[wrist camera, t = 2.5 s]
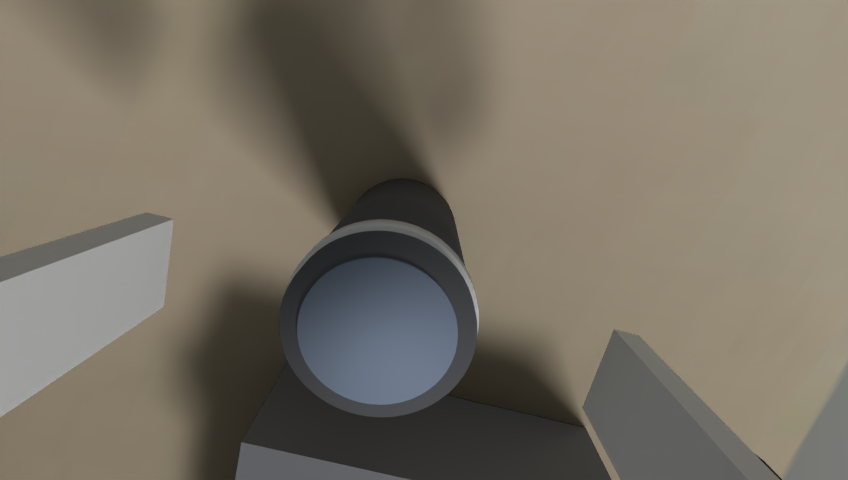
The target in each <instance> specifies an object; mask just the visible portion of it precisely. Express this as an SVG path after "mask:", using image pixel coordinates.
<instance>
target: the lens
mask: <svg viewBox="0 0 848 480" xmlns="http://www.w3.org/2000/svg"><path fill="white" fill-rule="evenodd" d="M478 327H479V310H478V304H477V299H476V295H475V291H474V287H473V284H472V281H471V278H470V275H469V273H468V271H467V269H466V267H465V264H464V260H463V255H462V251H461V247H460V242H459V238H458V234H457V229H456V225H455V220H454V217H453V214H452V211H451V209H450V207H449V205H448V204H447V202H446V201H445V199H444V198H443V197H442V196H441V195H440V194H439V193H438V192H437V191H436V190H434V189H433V188H431V187H430V186H428V185H426V184H424V183H422V182H419V181H416V180H410V179H393V180H388V181H385V182H382V183H379V184H377V185H376V186H374V187H372V188H371V189H369V190H368V191H367V192H366V193H365V194H364V195H363V196H362V197H361V198H360V199H359V200H358V202H357V203H356V204H355V205H354V206H353V207H352V209H351V210H350V211H349V212H348V213H347V214H346V216H345V217H344V218H343V219H342V220H341V222H340V223H339V224H338V225H337V226H336V227H335V229H334V230H333V231H332V232H331V233H330V234H329V235H328V236H326V237H325V238H323V239H322V240H321V241H320V242H319V243H318V244H317V245H316V246H314V247H313V249H312V250H311V251H310V252H309V253H308V254H307V255H306V256H305V258H304V259H303V260H302V261H301V263H300V264H299V265H298V266H297V268H296V270H295V271H294V273H293V275H292V276H291V279H290V281H289V283H288V286H287V289H286V292H285V294H284V297H283V300H282V304H281V308H280V315H279V334H280V339H281V345H282V348H283V351H284V354H285V356H286V358H287V361H288V363H289V365H290V367H291V368H292V370H293V371H294V373H295V374H296V376H297V377H298V378H299V379H300V380H301V382H302V383H303V384H304V385H305V386H306V387H307V388H308V389H309V390H310V391H311V392H312V393H314V394H315V395H316V396H318V397H319V398H321V399H322V400H323V401H325V402H327V403H329V404H331V405H332V406H334V407H337V408H339V409H341V410H344V411H347V412H350V413H354V414H357V415H363V416H369V417H395V416H401V415H406V414H410V413H413V412H417V411H419V410H421V409H424V408H426V407H429V406H430V405H432V404H434V403H435V402H437V401H439V400H440V399H441V398H443V397H444V396H445V395H447V394H448V393H449V392H450V391H451V390H452V389H453V388H454V387H455V386H456V385H457V384H458V383H459V381H460V380H461V379H462V377H463V376H464V374H465V373H466V371H467V369H468V368H469V366H470V363H471V361H472V358H473V356H474V352H475V348H476V344H477V335H478Z"/></svg>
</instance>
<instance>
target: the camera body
mask: <svg viewBox="0 0 848 480" xmlns="http://www.w3.org/2000/svg"><path fill="white" fill-rule="evenodd" d="M235 480H611V478H610V476H609V474H608V472H607V470H606V468H605V466H604V464H603V462H602V460H601V458H600V456H599V454H598V452H597V450H596V448H595V446H594V444H593V442H592V440H591V438H590V436H589V434H588V432H587V430H586V428H584V427H580V426H575V425H571V424H567V423H563V422H558V421H554V420H550V419H545V418H541V417H537V416H533V415H528V414H524V413H520V412H515V411H511V410H507V409H503V408H498V407H494V406H490V405H485V404H481V403H477V402H473V401H468V400H464V399H460V398H455V397H451V396H447V395H445V396H444V397H443V398H441V399H440V400H439V401H437V402H435V403H434V404H432V405H430V406H429V407H426V408H424V409H421V410H419V411H417V412H413V413H410V414H406V415H401V416H395V417H369V416H363V415H357V414H354V413H350V412H347V411H344V410H341V409H339V408H337V407H334V406H332V405H331V404H329V403H327V402H325V401H323V400H322V399H321V398H319V397H318V396H316V395H315V394H314V393H312V392H311V391H310V390H309V389H308V388H307V387H306V386H305V385H304V384H303V383H302V382H301V380H300V379H299V378H298V377H297V376H296V374H295V373H294V371H293V370H292V368H291V367H290V365H289V363H287V364H286V366H285V368H284V370H283V371H282V373H281V375H280V377H279V378H278V380H277V382H276V383H275V385H274V387H273V389H272V390H271V392H270V394H269V396H268V397H267V399H266V401H265V402H264V404H263V406H262V408H261V409H260V411H259V413H258V414H257V416H256V418H255V420H254V421H253V423H252V425H251V427H250V428H249V430H248V432H247V433H246V435H245V437H244V439H243V440H242V442H241V447H240V453H239V459H238V465H237V471H236V476H235Z"/></svg>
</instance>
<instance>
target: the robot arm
mask: <svg viewBox="0 0 848 480" xmlns="http://www.w3.org/2000/svg"><path fill="white" fill-rule="evenodd" d="M173 221H174V219H171V218H167V217H163V216H159V215H155V214H151V213H147V212H146V213H143V214H140V215H136V216H133V217H130V218H127V219H123V220H120V221H117V222H114V223H110V224H107V225H104V226H100V227H97V228H94V229H91V230H87V231H84V232H81V233H78V234H74V235H71V236H68V237H65V238H61V239H58V240H55V241H51V242H48V243H45V244H42V245H38V246H35V247H32V248H29V249H25V250H22V251H19V252H16V253H12V254H9V255H6V256H2V257H0V417H1V416H3V415H4V414H6V413H7V412H9V411H10V410H12V409H13V408H15V407H16V406H18V405H19V404H21V403H22V402H24V401H25V400H27V399H28V398H29V397H31V396H32V395H34V394H35V393H37V392H38V391H40V390H41V389H43V388H44V387H46V386H47V385H49V384H50V383H52V382H53V381H55V380H56V379H58V378H59V377H61V376H62V375H63V374H65V373H66V372H68V371H69V370H71V369H72V368H74V367H75V366H77V365H78V364H80V363H81V362H83V361H84V360H86V359H87V358H89V357H90V356H92V355H93V354H95V353H96V352H97V351H99V350H100V349H102V348H103V347H105V346H106V345H108V344H109V343H111V342H112V341H114V340H115V339H117V338H118V337H120V336H121V335H123V334H124V333H126V332H127V331H129V330H130V329H131V328H133V327H134V326H136V325H137V324H139V323H140V322H142V321H143V320H145V319H146V318H148V317H149V316H151V315H152V314H154V313H155V312H157V311H158V310H160V309H161V308H163V307H164V299H165V291H166V282H167V273H168V265H169V256H170V247H171V238H172V230H173ZM582 408H583V409H584V411H585V413H586V415H587V417H588V419H589V421H590V423H591V425H592V426H593V428H594V430H595V432H596V434H597V436H598V438H599V440H600V441H601V443H602V445H603V447H604V449H605V451H606V453H607V455H608V457H609V458H610V460H611V462H612V464H613V466H614V468H615V470H616V472H617V473H618V475H619V477H620V479H621V480H782V479H781V478H780V477H779V476H778V475H777V474H776V473H775V472H774V471H773V470H772V469H771V468H770V467H769V466H768V465H767V464H766V463H765V462H764V461H763V460H762V459H761V458H760V457H758V456H757V455H756V454H754V453H753V452H752V451H751V450H750V449H749V448H748V447H747V446H746V445H745V444H744V443H743V442H742V441H741V440H740V439H739V437H738V436H737V435H736V434H735V433H734V432H733V431H732V430H731V429H730V428H729V427H728V426H727V425H726V424H725V423H724V422H723V421H722V420H721V419H720V418H719V417H718V416H717V415H716V414H715V413H714V412H713V411H712V410H711V409H710V408H709V407H708V406H707V405H706V404H705V403H704V402H703V401H702V400H701V399H700V398H699V397H698V396H697V395H696V394H695V393H694V392H693V391H692V389H691V388H690V387H689V386H688V385H687V384H686V383H685V382H684V381H683V380H682V379H681V378H680V377H679V376H678V375H677V374H676V373H675V372H674V371H673V370H672V369H671V368H670V367H669V366H668V365H667V364H666V363H665V362H664V361H663V360H662V359H661V358H660V357H659V356H658V355H657V354H656V353H655V352H654V351H653V350H652V349H651V348H650V347H649V346H648V345H647V344H646V343H645V341H644V340H643V339H642V338H641V337H640V336H639V335H635V334H631V333H627V332H623V331H619V330H615V329H614V331H613V333H612V336H611V338H610V341H609V343H608V346H607V348H606V351H605V353H604V356H603V358H602V360H601V363H600V365H599V368H598V370H597V373H596V375H595V378H594V380H593V383H592V385H591V388H590V390H589V393H588V395H587V398H586V400H585V403H584V405H583V407H582Z"/></svg>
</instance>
